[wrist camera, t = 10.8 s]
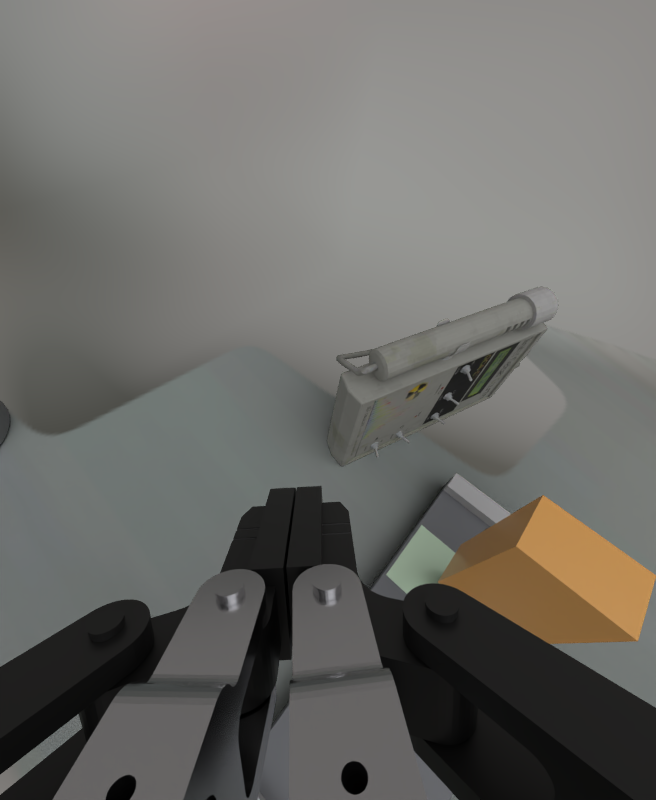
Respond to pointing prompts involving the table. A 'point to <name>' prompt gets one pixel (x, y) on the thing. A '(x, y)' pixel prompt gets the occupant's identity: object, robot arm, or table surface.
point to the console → (410, 567)
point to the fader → (553, 577)
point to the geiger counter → (433, 374)
